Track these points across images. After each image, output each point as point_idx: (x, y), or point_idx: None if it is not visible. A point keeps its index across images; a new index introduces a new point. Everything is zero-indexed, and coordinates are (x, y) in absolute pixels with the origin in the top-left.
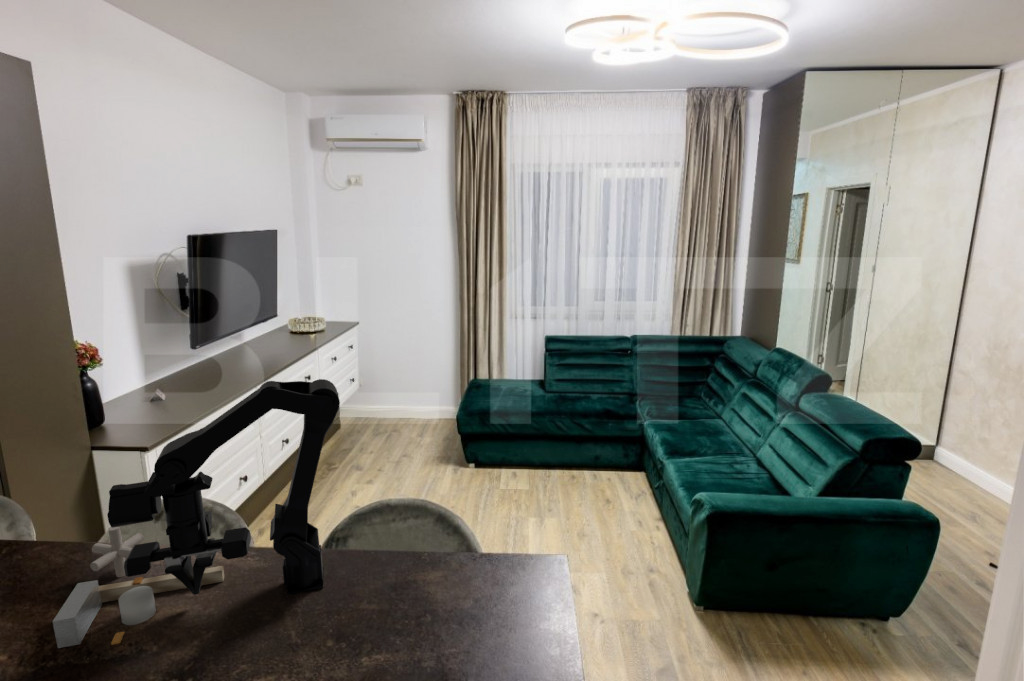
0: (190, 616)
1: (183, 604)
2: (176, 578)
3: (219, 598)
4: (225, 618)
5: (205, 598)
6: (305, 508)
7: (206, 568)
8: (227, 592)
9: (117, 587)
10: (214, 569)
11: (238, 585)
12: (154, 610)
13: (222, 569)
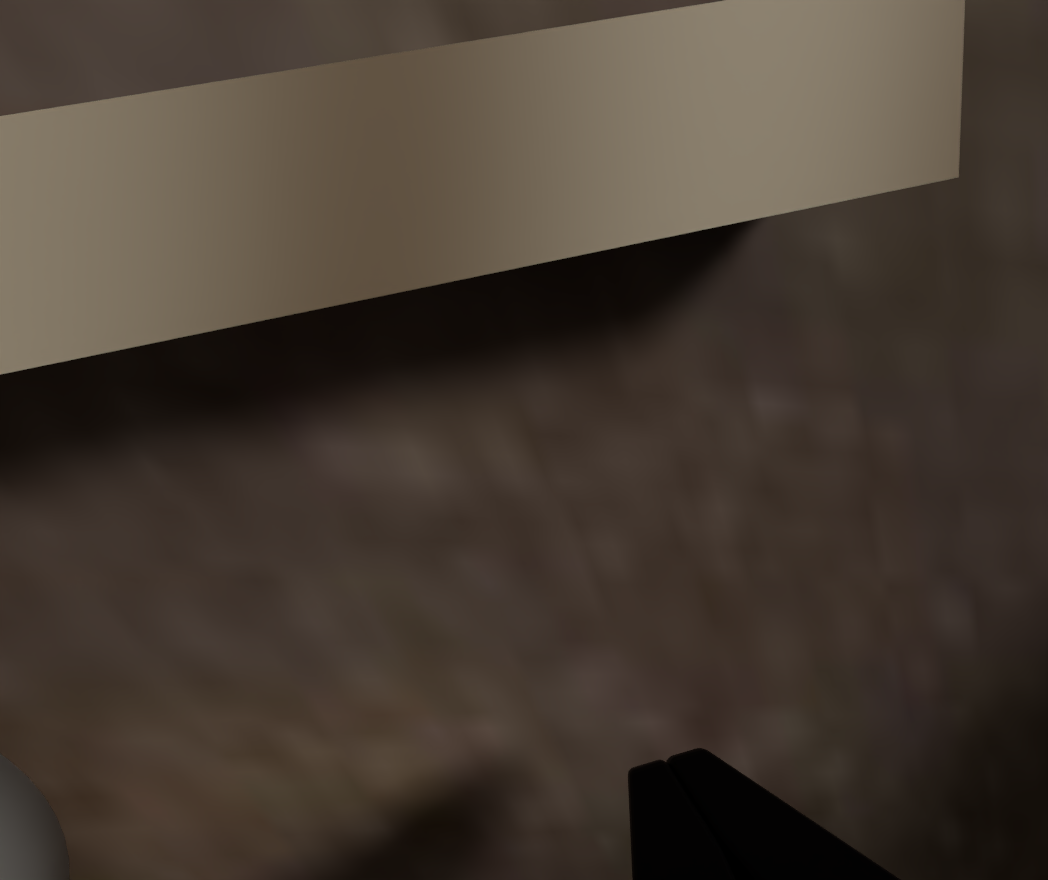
0: (581, 848)
1: (395, 667)
2: (8, 371)
3: (825, 557)
4: (936, 844)
5: (651, 553)
6: None
7: (620, 33)
8: (900, 443)
9: None
10: (813, 117)
11: (1018, 297)
12: (50, 867)
13: (938, 87)
